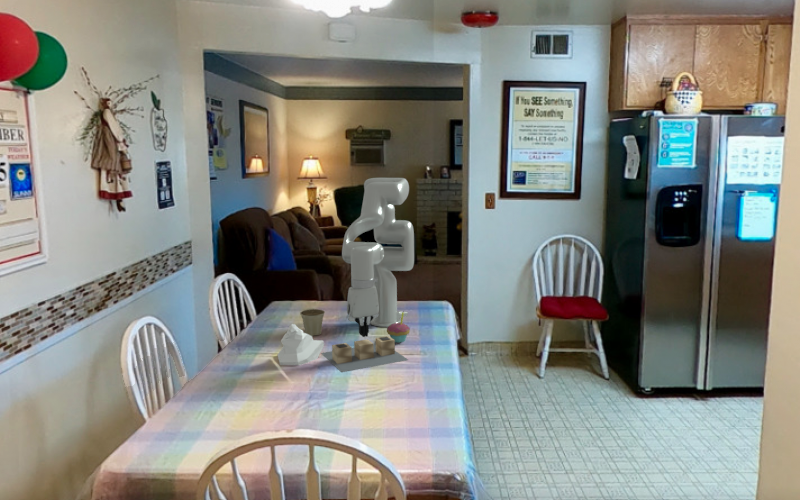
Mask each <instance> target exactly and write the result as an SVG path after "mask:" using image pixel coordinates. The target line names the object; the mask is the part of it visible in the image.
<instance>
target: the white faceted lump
mask: <svg viewBox="0 0 800 500" xmlns="http://www.w3.org/2000/svg"><path fill="white" fill-rule="evenodd" d="M280 342H281V343H282V344H281V345H282V347H281V349H280V351H279V352H278V353H277V359H278V362H279V365H280V366H302V365H305V364H308V363H310V362H313V361H315V360H317V359H318V358H319V356H320V354H321V353H322V350H323V348H324V346H325V342H324V340H322V339H321V340H319V339H313V336H310V335H309V334H306V333H305V331H304V330H302V329H300V328H299V327H298V326H297V325H296V323H291V324H290V325H289V326H288V329H287V331H286V332H285V334H284V335H283V337H282V338H281V340H280Z"/></svg>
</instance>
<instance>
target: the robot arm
mask: <svg viewBox="0 0 800 500" xmlns="http://www.w3.org/2000/svg"><path fill="white" fill-rule="evenodd" d="M363 188H364V192H363V197H362V198H363V200H362V205H361V211H360V216H359V217H358V218H357V219H355V220H354V221H353V222H352V223H350V224H351V225H349V226H348V228H347V230H346V231H345V234H344V237H343V241H342V242H343V243H342V249H341V257H342V260H343V261H344V263H347V264H350V272H351V273H350V274H351V279H350V281H351V286H350V287H348V291H347V292H348V293H347V301H346V302H347V303H346V304H347V305H346V313H347V315H348V318H347V319H348V321H350V322H355V323H357V324H358V334H359V335H360V336H362V337H363V338H365V337H368V336H369V332H370V331H369V330H370V329H369V328H370V327H369V326H370V325H372V326H375V327H378V328H379V327H380V328H387V327H388V326H390V325H391V324H393V323H399V322H400V323H401V316H402V313H404V315H403V318H404V317H408V315H409V313H408V311H404V312H403V311H401V310H399V311H398V297H397V295H398V293H397V292H398V289H397V287H398V286H397V284H398V283H397V282H398V281H397V279H396V276H395V275H394V274H393V272H392V271H395V272H398V271H399V272H402V271H403V272H407V271H411V270H412V269H413V268H414V265H415V233H414V231H415V230H414V226H413V224H412V222H411V221H409V220H404V219H403V220H401V219H398V220H397V219H396V215H395V214H396V212H395V211H396V209H395V206H400V205H402V204H403V203H404V202H405V201H406V200H407V198H408V196H409V193H410V185H409V182H408V180H407V178H404V177H372V178H368V179H366V180H365V181H364V183H363ZM371 230H373V236H374V240H375V241H376V242H371V241H370V242H369V241H367V242H365V241H355V239H357V237H359V236H361V235H362V234H363V233H365V232H369V231H371ZM382 244H384V245H385V244H387V245H401V246H383V245H382Z"/></svg>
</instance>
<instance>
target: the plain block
mask: <svg viewBox="0 0 800 500" xmlns="http://www.w3.org/2000/svg"><path fill="white" fill-rule="evenodd" d="M353 343H354V344H353V348H354V355H355V356H356V357H357V358H358V359H359V360H363V359H368V358H374V347H373V344H374V342H372V341H370V340H369V339H368V338H367V339H362V340H356V341H354V342H353Z"/></svg>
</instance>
